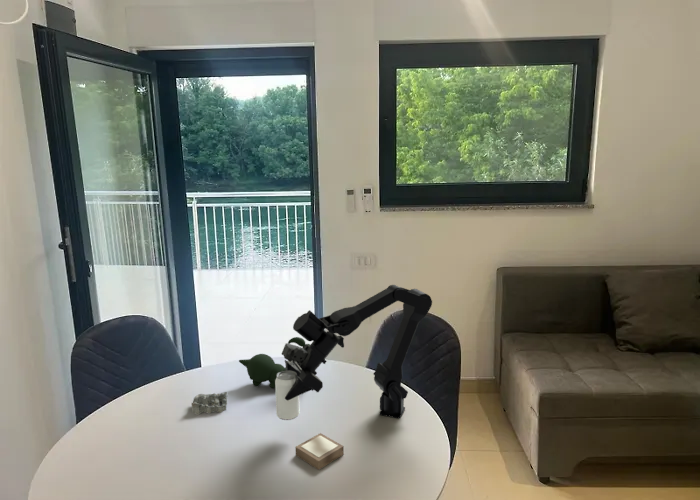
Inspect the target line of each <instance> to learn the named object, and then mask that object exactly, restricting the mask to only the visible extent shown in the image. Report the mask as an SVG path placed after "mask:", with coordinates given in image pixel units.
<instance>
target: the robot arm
mask: <svg viewBox="0 0 700 500" xmlns="http://www.w3.org/2000/svg"><path fill="white" fill-rule="evenodd" d="M397 302H401V303H403V304H402V308H403V310H402V312H403V314H402V315H403V316H402V319H401V322H400V324H399V327H398V329H397V333H396V336H395V338H394V340H393V343H392V345H391V348H390V351H389V354H388V356H387V358H386V360H385V361H384V362H382V363H381V362H378V363H377V365H376V369H375V371H374V372H373V376H374V377H373V380H374V383H375V384H376V386H378V387H379V390H381V391H382V393H381V396H380V398H379V410H380V412H379V415H380V416H384V417H389V418H395V419H401V418H402V416H403V414H404V411H405V410H406V406H404V405H405V404H404V403H405V401H404V399H406V398H407V397H408V393H409V391H408V390H407V389H406V388H405V387H403V385H402V379H403V364H404V362H405V359H406V356H407V354H408V352H409V351H408V350H409V349H410V346H411V343H412V341H413V338H414V336H415V333H416V331H417V329H418V325H419V323H420V322H421V321H422V320H423V319H424V318H425V317H426V316H427V315H428V313H429V311H430V310H431V308H432V305H433V300H432V298H431V295H429V294H428V293H426V292H423V291H422V290H419V289H418V288H410V289H407V288H405V287H401V286H398V285H397V284H389V286H388V287H387V288H384V289H382V290H381V291H380V292H378V293H376V294H374V295H373V296H370V297H369V298H367V299H365V300H363V301H362V302H360V303H358V304H356V305H353V306H347V307H344V308H340V309H338V310H335V311H334V312H332V313H331V314H330V315H327V316H323V317H319V318H318V316H317V315H315V313H314V312H313V311H312V310H308V311H307V312H305V313H302V314H301V315H300V316H298V317H297V318H296V320H295V321H294V322H293V325H292V328H293V330H294V331H295V332H296V333H297V334H299V335H300V336H301V338H304V339H305V340H306V341H308V342H311V343H309V344H310V346H309V345H305V346H304V347H301V346H299V345H298V346H297V345H296V344H293V343H290V344H288V342H287V343H284V346H283V349H282V352H281V355H282V356H283V358H284V364H285V367H286V370H285V371H294V372H296V373H297V375H295V383H294V385H293V386H292V387H291V389H290V390H289V392H288V393H287V395H286V397H285V399H286V400H287V401H288V400H290V399H292V398H294V397H296V396H299V397H300V395H303V394H304V393H305V394H306V393H308V392H310V391H312V392H314V391H315V392H316V393H320V391H321V390H322V389H323V387H324V386H323V383H324V382H323V381H322V380H321V379H320V377H318V376H317V373H318V372H317V370H318V368H319V367H320V366H321V364H324V365H326V363H327V360H326V358H327V357H328V356H329V355H330V353H331V352H332V351H333V350H334V349H335V348H336V347H337V345H338V346H340V347H341V348H342V349H343V348H344V347H345V342H344V340H345V338H344V337H348V336H349V335H351V334H352V333H354V332H355V331H356V330H357V329H358V328H359V327H360V326H361V324H362V322H364V321H365V320H367V319H368V318H370V317H372V316H373V315H376V314H377V313H379V312H381V311H383V310H384V309H386V308H388V307H390V306H391V305H393V304H395V303H397ZM325 329H326V330H325ZM337 334H338V335H337ZM299 370H300V371H299Z"/></svg>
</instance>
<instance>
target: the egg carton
mask: <svg viewBox="0 0 700 500" xmlns="http://www.w3.org/2000/svg"><path fill="white" fill-rule="evenodd" d="M221 403H222V404H221ZM209 404H211V406H209ZM220 404H221V405H220ZM227 405H228V392H227V391H226V392H221V393H215V392H214V393H208V394H203V393H200V394H197V395H196V396H194V397H193V400H192V402H191V409H192V412H191V413H192V414H195V415H201V414H202V413H207V414H212V413H214V412H218V413H223V412H224V411H227Z"/></svg>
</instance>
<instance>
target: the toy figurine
mask: <svg viewBox="0 0 700 500" xmlns="http://www.w3.org/2000/svg"><path fill="white" fill-rule="evenodd" d="M304 339H305V338H304ZM304 339H303V337H299V336H295V337H292V338H290V339H288V342H287V343H288V344H295V345H296V344H297V345H298V347H301V348H303V347H304V346H305V345H309V346H310V344H311V343H306V341H305V340H304ZM238 362H239V363H240V364H241V365H243V367H244V368H246V371H247V375H248V376H249V377H248V378H249V380H251V381H252V385H253V386H254V387H259V386H261V385H262V383H265V382H269V387H270V388H271V389H275V380H276V378H277V374H278V373H279V372H282V371H285V370H286V366H285V367H284V365H282V364H280V363H276V362H275V360H274V359H273V358H272V357H271V356H270V355H268V354H265V353H259V354H255V355H253V356H252V357H251V358H250V359H249V358H248V359H239V360H238ZM299 371H300V370H299Z"/></svg>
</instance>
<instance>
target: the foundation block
mask: <svg viewBox="0 0 700 500" xmlns="http://www.w3.org/2000/svg"><path fill="white" fill-rule="evenodd" d="M294 448H295V456H296V457H297V458H299V459H301V460H302V461H304V462H305V463H307V464H309V465H310V466H312V467H313V468H314V469H317V470H319V471H320V470H321V469H323V468H324V467H326V466H327V465H330V464H331V463H333V462H334V461H335V460H337V459H339V458H340V457H342V456H343V455H345V454H344V452H345V451H344V445H342V444H341V443H340V442H337V441H335V440H334V439H332V438H330V437H328V436H327V435H325V434H323V433H321V432H320V433H318V434H316V435H314V436H313V437H310V438H308V439H307V440H305V441H304V442H301V443H300V444H298V445H296V446H295V447H294Z"/></svg>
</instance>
